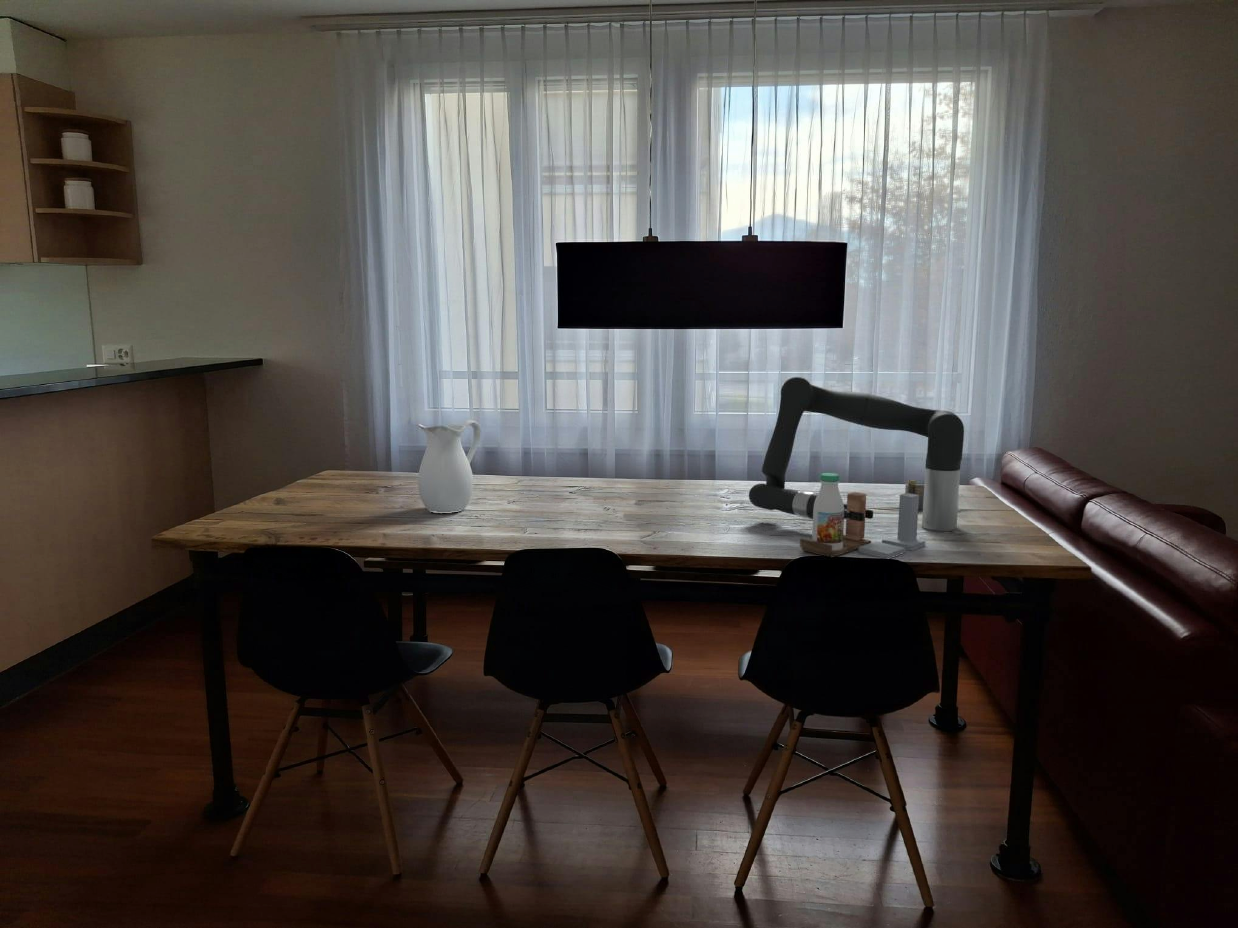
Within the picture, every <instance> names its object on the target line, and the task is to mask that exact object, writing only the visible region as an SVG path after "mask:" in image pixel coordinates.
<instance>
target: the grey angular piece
mask: <svg viewBox="0 0 1238 928" xmlns="http://www.w3.org/2000/svg"><path fill="white" fill-rule="evenodd" d="M898 503H899V505H898V506H899V507H898V522H897V534H895V535H892V536H889V537H886V538H882V539H881V542H879V541H872V542H871V543H869V544H866V545H863V546H860V547H859V548H858V552H859V553H862V554H866V555H871V556H875V557H879V558H883V559H887V558H889V559H891V558H894V557H893V556H895V557H897V556H896V555H898V556H900V555H902V554H901V553H903V554H906V551H910V550H912V551H914V549H915V550H917V549H920V548H923V547H925V546H926V540H922V539H918V538H917V535H918V519H919V517H918V515H919V508H918V505H919V495H916V494H910V493H905V492H904V493H902V494H899V502H898ZM919 547H920V548H919ZM916 548H917V549H916ZM906 549H907V550H906ZM899 554H900V555H899Z"/></svg>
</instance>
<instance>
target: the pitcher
mask: <svg viewBox="0 0 1238 928" xmlns="http://www.w3.org/2000/svg"><path fill="white" fill-rule="evenodd" d="M417 425H418V427H419V428H420V429H421V430H422V431H423V432H424V434H425V436H426V449H425V451H424V454H423V456H422V459H421V462H420V465H419V469H418V475H417V488H418V492H419V493H418V494H419V498H420V500H421V502H422V504H423V506H424V507H425V508H426V510H427V511H428V510H430V511H437V512H451V511H459V510H463V509H464V510H465V509H466V508H467V506H468V505H469V503H470V501H471V498H472V496H473V491H474V475H473V470H472V468H471V462H472V459H473V457H474V455H475V453H476V451H477V448H478V446H479V445H480V441H481V432H482V429H481V426H480V424H479V423H478V422H477V421H476V420H473V419H467V420H464V421H463V422H461V423H460V424H454V423H450V424H445V425H434V426H425V425H422V424H421V423H418V424H417ZM468 426H471V427H472V431H473V436H472V441H471V445H470V448H469V451H468V452H467V455H466V453H465V451H464V448H463V446H462V441H461V439H462V436H463V433H464V431H465V430H466V429H467V428H468ZM464 510H463V511H464Z"/></svg>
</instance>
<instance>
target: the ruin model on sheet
mask: <svg viewBox="0 0 1238 928" xmlns="http://www.w3.org/2000/svg"><path fill="white" fill-rule="evenodd" d="M905 493H910V494H916V495H919V505H918V509H923V500H924V484H923V483H922V484H921V483H919V484H918V483H917V479H915V480H913V479H912V480H911V479H909V480H908V481H906V483H905V492H904V494H905Z"/></svg>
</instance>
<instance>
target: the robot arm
mask: <svg viewBox="0 0 1238 928" xmlns="http://www.w3.org/2000/svg"><path fill="white" fill-rule="evenodd" d="M778 410H779V411H778V413H777V414H778V416H777V418H776V422H775V427H774V430H773V433H772V436H771V439H770V442H769V443H768V446H767V450H766V454H765V456H764V460H763V463H762V466H761V472H762V474H763V475H764V476H765V477H766V478H765V479H766V482H765V483H757V484H754V485H753V486H752V487H751V488H750V489H749V491H748V499H749V501H750V503H751V504H752V505H753V506H754V507H756V508H761V509H764V510H767V511H774V510H775V511H780V512H782V513H785V514H789V515H795V516H799V517H802V518H805V519H808V520H813V509H814V502H815V499H816V497H817V495H818V493H819V492H816V491H811V490H810V491H808V490H798V489H790V488H785V487H786V474H787V470H788V467H789V463H790V459H791V457H792V453H793V449H794V444H795V440H796V439H795V438H796V434H797V431H798V427H799V424H800V421H801V420H802V419H801V418H802V416H803V414H804V412H809V413H815V414H822V415H826V416H830V417H833V418H836V419H838V420H842V421H844V422H848V423H852V424H856V425H858V426H859V425H860V426H863V427H867V428H872V429H878V430H886V431H904V432H907V433H908V432H909V433H911V434H912V433H913V434H915V435H919V436H922V437H925V438H927V449H926V451H927V452H926V458H925V467H924V482H923V483H924V500H923V508H922V515H921V516H922V518H921V526H922V528H924V529H927V530H931V531H940V532H951V531H955V530H956V529H957V526H958V515H959V514H958V513H959V512H958V511H959V497H960V495H959V491H960V490H959V489H960V477H961V476H960V475H961V465H962V459H963V451H964V450H963V449H964V439H965V426H964V423H963V421H962V419H961V418H960V417H959V416H958V415H957V414H956V413H954V412H952V411H949V410H940V409H932V408H931V409H929V408H923V407H916V406H912V405H909V404H905V403H903V402H901V401H897V400H894V399H890V398H887V397H883V396H879V395H875V394H871V393H865V392H860V391H849V390H848V391H845V390H832V389H827V388H825V387H824V388H823V387H820V386H818V385H815V384H812V383H810V381H808V379H807V378H805V377H802V376H792V377H790V378H789V379H787V380H786V381H784V383H783V384H782V386H781V389H780V403H779V409H778ZM843 504H844V521H846V520H850V519H851V520H856V521H864V513H861V512H854V511H851V512H850V510H847V503H844V502H843ZM873 518H874V510H872V509H866V512H865V519H869V520H871V519H873Z"/></svg>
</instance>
